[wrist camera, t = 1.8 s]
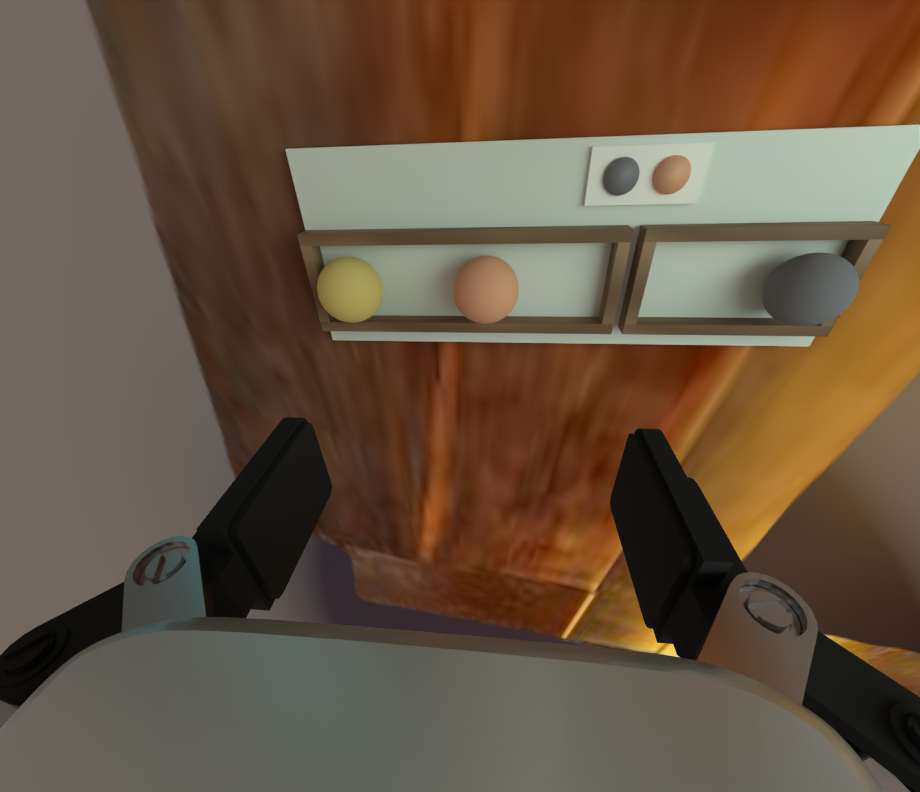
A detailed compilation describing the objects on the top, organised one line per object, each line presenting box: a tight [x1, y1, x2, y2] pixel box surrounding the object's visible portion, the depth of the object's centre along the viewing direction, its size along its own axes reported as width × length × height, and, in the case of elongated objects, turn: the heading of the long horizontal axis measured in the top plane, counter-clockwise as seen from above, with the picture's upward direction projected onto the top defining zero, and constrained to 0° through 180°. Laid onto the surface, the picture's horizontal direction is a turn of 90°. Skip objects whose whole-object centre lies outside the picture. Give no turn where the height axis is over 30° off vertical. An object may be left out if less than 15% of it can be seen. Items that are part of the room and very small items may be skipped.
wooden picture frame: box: [297, 225, 634, 334], centre depth 24 cm, size 6×20×1 cm, turn 92°
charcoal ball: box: [762, 252, 859, 326], centre depth 21 cm, size 4×4×4 cm
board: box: [285, 125, 920, 346], centre depth 23 cm, size 12×33×2 cm, turn 92°
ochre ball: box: [317, 257, 383, 323], centre depth 24 cm, size 4×4×4 cm
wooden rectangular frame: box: [618, 221, 891, 336], centre depth 23 cm, size 6×12×1 cm, turn 92°
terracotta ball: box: [453, 255, 519, 324], centre depth 23 cm, size 4×4×4 cm
